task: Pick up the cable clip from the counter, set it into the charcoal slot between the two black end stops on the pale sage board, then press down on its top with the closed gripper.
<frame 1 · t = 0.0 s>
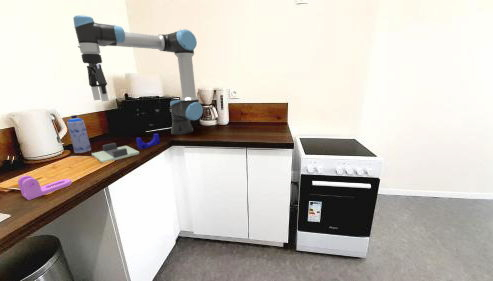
hand: (101, 100, 106), 28 cm above the counter, tool pointing down, fingers open, 13 cm apart
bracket: (50, 190, 78), on the counter
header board: (115, 154, 113), on the counter
cable clip: (149, 146, 127), on the counter
aerosol can: (83, 151, 122), on the counter
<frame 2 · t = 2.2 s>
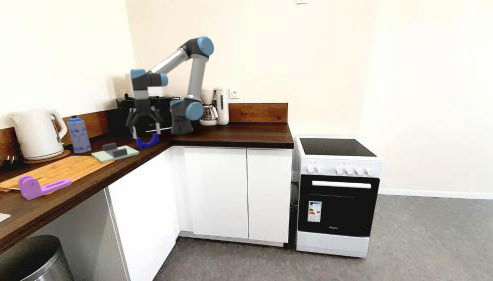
hand: (147, 136, 125), 6 cm above the counter, tool pointing down, fingers open, 13 cm apart
nothing on the counter moved.
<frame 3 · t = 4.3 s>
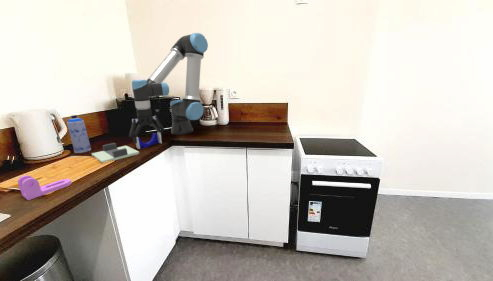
hand: (149, 145, 127), 0 cm above the counter, tool pointing down, fingers closed on cable clip, 12 cm apart
cable clip: (148, 145, 128), on the counter, touching gripper
everything else where it was.
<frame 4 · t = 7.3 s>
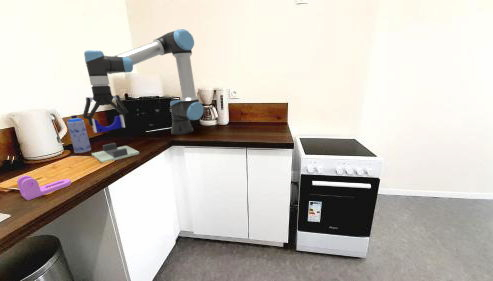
hand: (110, 129, 109), 13 cm above the counter, tool pointing down, fingers closed on cable clip, 12 cm apart
cable clip: (109, 130, 111), point 13 cm above the counter, touching gripper
everything else where it was.
when the fingers open (3 cm above the counter, at t = 10.1 s): cable clip drops 1 cm, resting on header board.
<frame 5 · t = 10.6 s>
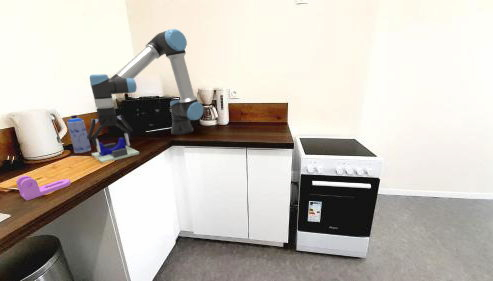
hand: (114, 148, 112), 3 cm above the counter, tool pointing down, fingers open, 13 cm apart
cable clip: (113, 152, 114), point 1 cm above the counter, touching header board
everything else where it was.
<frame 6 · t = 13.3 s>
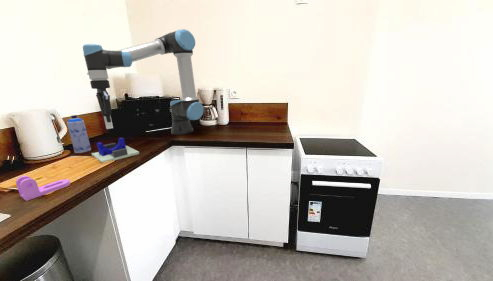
hand: (109, 128, 109), 14 cm above the counter, tool pointing down, fingers closed
nothing on the counter moved.
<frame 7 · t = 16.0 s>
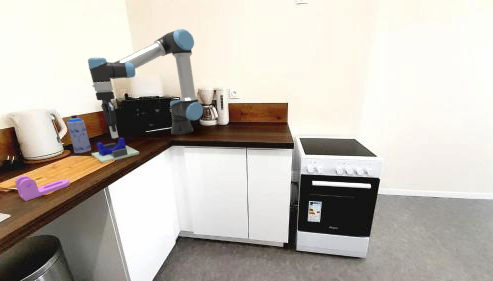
hand: (115, 137, 113), 9 cm above the counter, tool pointing down, fingers closed
nothing on the counter moved.
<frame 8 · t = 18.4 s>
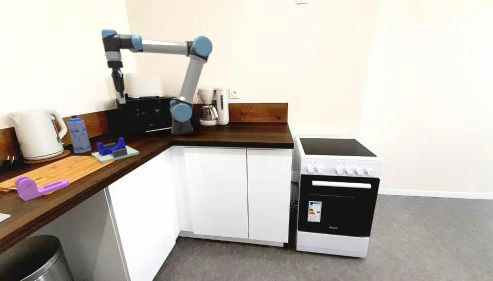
hand: (122, 103, 127), 24 cm above the counter, tool pointing down, fingers closed
nothing on the counter moved.
at the end: cable clip 1.8 cm off-centre on the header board, point 1.1 cm above the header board's base; cable clip tilted 0°; the gripper is holding nothing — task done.
